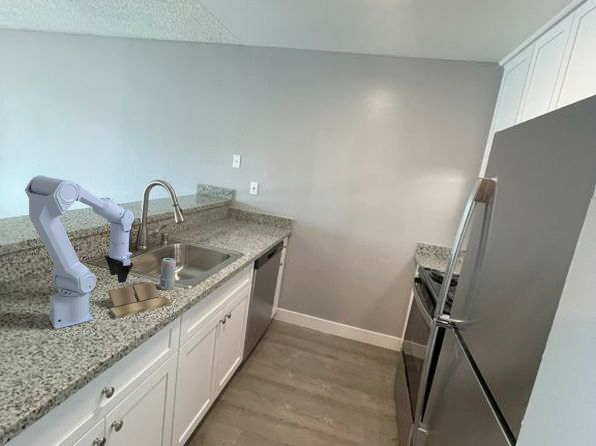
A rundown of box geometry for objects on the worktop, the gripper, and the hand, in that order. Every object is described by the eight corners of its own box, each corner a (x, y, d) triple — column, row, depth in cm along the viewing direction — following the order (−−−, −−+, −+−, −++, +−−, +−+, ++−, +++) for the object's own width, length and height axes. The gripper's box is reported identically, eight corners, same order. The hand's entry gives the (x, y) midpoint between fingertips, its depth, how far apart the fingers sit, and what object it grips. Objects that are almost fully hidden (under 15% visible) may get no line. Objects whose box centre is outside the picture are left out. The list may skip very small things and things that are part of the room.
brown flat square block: (114, 308, 100) (114, 306, 100) (108, 292, 103) (108, 290, 103) (136, 303, 106) (136, 301, 105) (129, 288, 109) (130, 286, 108)
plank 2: (139, 302, 106) (139, 300, 106) (132, 287, 109) (133, 285, 109) (158, 298, 112) (159, 296, 111) (152, 283, 115) (152, 281, 114)
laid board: (116, 318, 95) (116, 315, 95) (109, 310, 99) (109, 307, 99) (170, 304, 109) (171, 301, 109) (163, 298, 113) (163, 295, 112)
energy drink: (170, 284, 126) (172, 257, 124) (176, 288, 122) (178, 260, 120) (157, 286, 121) (159, 258, 119) (163, 291, 118) (165, 262, 116)
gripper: (140, 246, 103) (138, 283, 105) (124, 235, 112) (122, 269, 114) (117, 248, 97) (116, 287, 100) (102, 237, 106) (101, 273, 109)
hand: (118, 278), depth 106 cm, fingers open, 7 cm apart
